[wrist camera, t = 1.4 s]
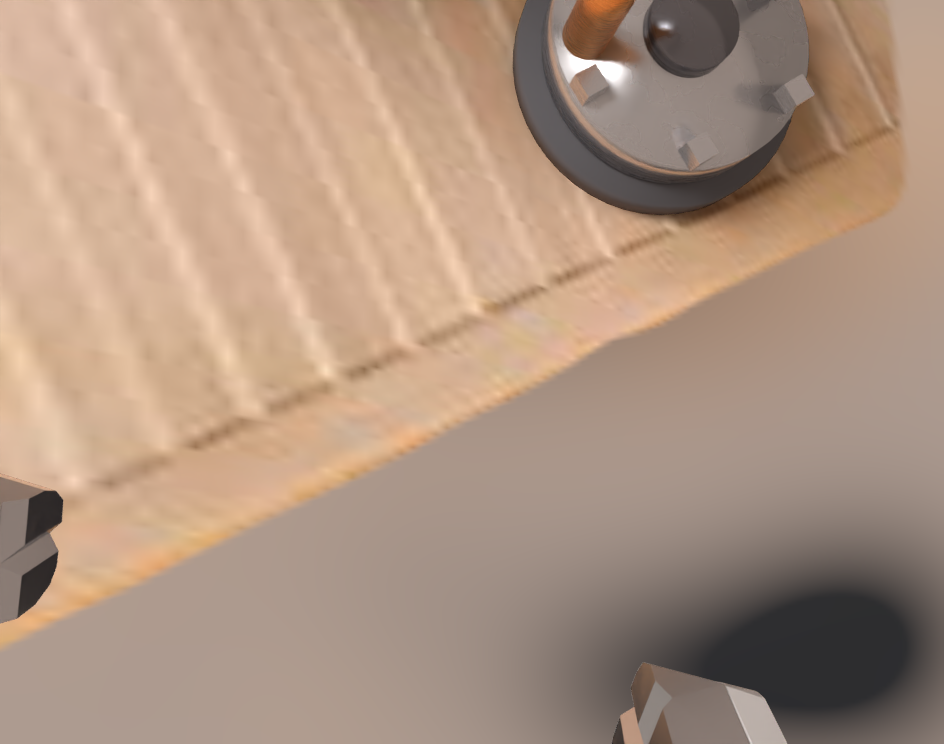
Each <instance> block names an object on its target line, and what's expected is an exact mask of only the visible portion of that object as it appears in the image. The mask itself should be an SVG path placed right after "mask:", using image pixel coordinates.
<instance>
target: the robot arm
mask: <svg viewBox="0 0 944 744" xmlns="http://www.w3.org/2000/svg"><path fill="white" fill-rule="evenodd" d="M62 511H63V499H62V498H61V496H60V495H59V494H58V493H57V491H55V490H52V489H49V488H46V487H42V486H39V485H36V484H33V483H30V482H26V481H23V480H20V479H17V478H14V477H10V476H7V475H4V474H1V473H0V623H3V622H7V621H10V620H14V619H17V618H19V617H20V616H21V615H22V614H24V613H25V612H26V611H28V610H29V609H30V608H31V607H33V606H34V605H35V604H36V603H37V601H38V600H39V599H40V597H41V596H42V595H43V593H44V592H45V590H46V589H47V588H48V586H49V585H50V583H51V580H52V577H53V575H54V572H55V569H56V566H57V558H58V549H57V547H56V545H55V543H54V541H53V539H52V537H51V535H50V532H51V531H52V530H54V529H55V528H56V527H57V526H58V525H59V524H60V523H61V522H62ZM631 693H632V698H633V703H634V707H633V708H632V709H630V710H628V711H627V712H625V713H624V714H622V715H621V716H620V718H619V721H618V724H617V727H616V729H615V733H614V735H613V740H612V744H787V742H786V740H785V738H784V736H783V734H782V732H781V730H780V728H779V726H778V724H777V722H776V720H775V718H774V716H773V714H772V712H771V710H770V708H769V706H768V704H767V702H766V700H765V699H764V697H763V696H761V695H760V694H759V693H758V692H756V691H753V690H749V689H745V688H741V687H737V686H733V685H729V684H725V683H721V682H715V681H712V680H708V679H704V678H700V677H697V676H693V675H689V674H685V673H681V672H678V671H674V670H670V669H667V668H662V667H659V666H655V665H652V664H647V663H642V665H641V666H640V668H639V669H638V671H637V672H636V675H635V678H634V680H633V683H632V685H631Z"/></svg>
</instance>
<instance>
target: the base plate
mask: <svg viewBox="0 0 944 744" xmlns="http://www.w3.org/2000/svg"><path fill="white" fill-rule="evenodd" d="M550 1H551V0H527V1H526V4H525V7H524V9H523V12H522V15H521V18H520V21H519V24H518V28H517V31H516V36H515V43H514V49H513V73H514V82H515V89H516V93H517V97H518V101H519V105H520V108H521V111H522V113H523V116H524V119H525V121H526V124H527V126H528V128H529V130H530V131H531V133H532V135H533V137H534V139H535V141H536V142H537V144H538V145H539V147H540V148H541V149H542V151H543V152H544V154H545V155H546V157H547V158H548V159H549V160H550V161H551V162H552V163H553V164H554V166H555V167H556V168H557V169H558V170H559V171H560V172H561V173H562V174H563V175H565V176H566V177H567V178H568V179H569V180H570V181H571V182H573V183H574V184H575V185H576V186H578V187H579V188H581V189H582V190H584V191H585V192H587V193H588V194H590V195H592V196H594V197H596V198H598V199H600V200H602V201H604V202H606V203H608V204H610V205H613V206H616V207H619V208H622V209H625V210H629V211H634V212H639V213H645V214H657V215H664V214H679V213H684V212H689V211H694V210H697V209H700V208H703V207H705V206H708V205H711V204H713V203H715V202H717V201H718V200H720V199H722V198H724V197H726V196H728V195H729V194H731V193H732V192H734V191H736V190H737V189H739V188H740V187H742V186H743V185H744V184H746V183H747V182H749V181H750V180H751V179H753V178H754V177H755V176H756V175H757V174H758V173H759V172H760V171H761V170H762V169H763V168H764V167H765V166H766V165H767V163H768V162H769V161H770V159H771V158H772V157H773V156H774V154H775V153H776V151H777V150H778V148H779V146H780V144H781V142H782V141H783V139H784V137H785V134H786V132H787V129H788V127H789V124H790V122H791V118H792V115H791V117H790V119H789V120H788V121H787V123H786V124H785V125H784V127H783V128H782V129H781V131H780V132H779V133H778V134H777V135H776V136H775V137H774V138H772V139H771V140H770V141H769V142H768V143H767V144H765V145H764V146H763V147H761V148H760V149H758V150H757V151H756V152H754V153H753V154H751V155H750V156H748V157H747V158H745V159H744V160H743V161H741V162H740V163H738V164H737V165H735V166H734V167H732V168H731V169H729V170H727V171H725V172H723V173H721V174H719V175H718V176H715V177H712V178H709V179H706V180H703V181H698V182H693V183H685V184H665V183H656V182H651V181H647V180H642V179H639V178H636V177H633V176H631V175H628V174H625V173H623V172H621V171H619V170H617V169H615V168H613V167H611V166H610V165H608V164H607V163H605V162H604V161H602V160H601V159H599V158H598V157H596V156H595V155H594V154H593V153H592V152H591V151H590V150H588V149H587V148H586V147H585V146H584V145H583V144H582V143H581V142H580V141H579V140H578V139H577V137H576V136H575V135H574V134H573V133H572V132H571V130H570V129H569V128H568V126H567V125H566V123H565V122H564V120H563V119H562V118H561V116H560V114H559V112H558V110H557V108H556V106H555V104H554V103H553V100H552V97H551V95H550V92H549V90H548V87H547V83H546V79H545V75H544V71H543V64H542V56H541V36H542V30H543V23H544V19H545V15H546V12H547V8H548V5H549V3H550Z"/></svg>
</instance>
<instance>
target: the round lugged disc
mask: <svg viewBox="0 0 944 744" xmlns="http://www.w3.org/2000/svg"><path fill="white" fill-rule="evenodd" d="M541 56H542V64H543V71H544V75H545V79H546V83H547V87H548V90H549V92H550V95H551V97H552V100H553V103H554V104H555V106H556V108H557V110H558V112H559V114H560V116H561V118H562V119H563V120H564V122H565V123H566V125H567V126H568V128H569V129H570V130H571V132H572V133H573V134H574V135H575V136H576V137H577V139H578V140H579V141H580V142H581V143H582V144H583V145H584V146H585V147H586V148H587V149H588V150H590V151H591V152H592V153H593V154H594V155H595V156H596V157H598V158H599V159H601V160H602V161H604V162H605V163H607V164H608V165H610V166H611V167H613V168H615V169H617V170H619V171H621V172H623V173H625V174H628V175H631V176H633V177H636V178H639V179H642V180H647V181H651V182H656V183H665V184H685V183H693V182H698V181H703V180H706V179H709V178H712V177H715V176H718V175H719V174H721V173H723V172H725V171H727V170H729V169H731V168H732V167H734V166H735V165H737V164H738V163H740V162H741V161H743V160H744V159H745V158H747V157H748V156H750V155H751V154H753V153H754V152H756V151H757V150H758V149H760V148H761V147H763V146H764V145H765V144H767V143H768V142H769V141H770V140H771V139H772V138H774V137H775V136H776V135H777V134H778V133H779V132H780V131H781V129H782V128H783V127H784V125H785V124H786V123H787V121H788V120H789V119H790V117H791V115H792V114H793V112H794V110H795V108H796V107H798V106H799V105H801V104H803V103H804V102H805V101H807V100H808V99H809V98H811V97H812V96H814V95H815V93H814V92H813V90H812V88H811V87H810V85H809V83H808V82H807V80H806V77H807V71H808V62H809V40H808V33H807V26H806V22H805V18H804V14H803V10H802V7H801V4H800V2H799V0H551V1H550V3H549V5H548V8H547V12H546V15H545V19H544V23H543V30H542V36H541Z"/></svg>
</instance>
